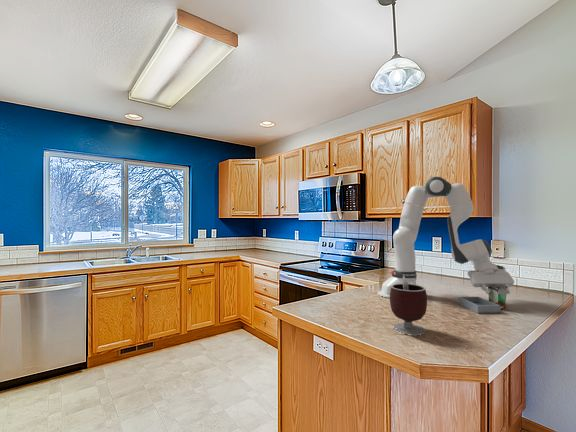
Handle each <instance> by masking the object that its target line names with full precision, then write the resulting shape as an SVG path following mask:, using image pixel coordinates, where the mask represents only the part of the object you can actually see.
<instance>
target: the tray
mask: <svg viewBox="0 0 576 432" xmlns="http://www.w3.org/2000/svg"><path fill="white" fill-rule="evenodd" d="M457 304H458V305H461V306H462V307H464V308H466V309H468V310H470V311H472V312H475V313H476V314H501V310H500V305H498V304H495V303H493V302H490V301H489V299H488V300H487V299H485V298H482V297H481V296H457Z"/></svg>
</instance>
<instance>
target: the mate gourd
mask: <svg viewBox="0 0 576 432" xmlns="http://www.w3.org/2000/svg"><path fill="white" fill-rule="evenodd" d="M427 295H428V294H427V291H426V287H425V286H423V285H418V284H416V285H413V284H408V282H407V280H406V278H405V277H404V276H403V284H394V285H392V286H391V290H390V298H389V305H390V309H391V312H392V313H393V315H394V316H395V317H396V318H398V319H400V320H402V321H404V322H401V323H399V322H398V323H395V324H393V325H392V326H394V328H393V329H394V330H395V328H397V329H396V331H398V332H401V333H404V334H411V335H420V334H423V335H425V334H426V329H425V328H424V327H422V326H421V325H417V324H415V323H414V324H413V322H416V321H419V320H421V319H423V317H424V316H425V315H426V314H427V307H428V297H427ZM393 329H392V330H393ZM424 333H425V334H424ZM420 336H421V335H420Z"/></svg>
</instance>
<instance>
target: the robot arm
mask: <svg viewBox="0 0 576 432" xmlns="http://www.w3.org/2000/svg"><path fill="white" fill-rule="evenodd" d="M440 197H443V198H444V199H445V200H446V202H447V204H448V206H449V212H450V213H449V216H447V219H446V220H447V221H446V223H447V230H448V236H449V242H450V247H451V249H450V251H451V253H450V254H451V258H452V259H453V261H454V262H456V263H458V264H461V265H462V264H463V265H464V264H465V263H466V264H467V263H469V262H470V263H471V264H472V265H473V269H474V270H471V269H470V270H469V271H467V275H468V277H469V280H470V283H471V286H472V287H474V288H480V289H481V290H483V291H484V292H485V294H486V295H489V294H490V293H491V291H490V289H488V287H490V286H491V285H497V286H503V287H506V288H507V290H508V293H507V294H506V295H510V293H511V291H510V289H509V288H510V287H512V286H513V285H514V283H515V281H514V278H513V276H511V274H510V273H509V272H508V271H506V267H505V266H503V265H500V264H495V263H493V262H492V261H491V260H490V257H491V255H492V253H493V249H492V247H491V246H490V244H489V242H488V241H487V240H485V239H483V238H482V239H481V238H480V239H475V240H471V241H468V242H465V243H460V239H459V233H458V228H459V226H460V225H462V223H463V222H465V221H466V220H468V219H469V218H470V217H471V216H472V215H473V213H474V211H475V208H474V207H475V206H474V202H473V201H472V198H471V195H470V194H469V192H468V190H467V188H466V186H464V184H462V183H458V182H457V183H456V182H455V183H452V184H451V183H450V182H449V181H447V180H446V179H445V178H443V177H441V176H432V177H431V178H429V179H428V180H427V181H426V183H424V185H413V186H411V187H410V188H409V190H408V192H407V195H406V197H405V200H404V203H403V206H402V210H401V214H400V220H399V224H398V225H399V226H398V228H397V229H396V230H395V231H394V233H393V235H392V242H393V249H394V263H395V264H394V270H392V269H390V270H389V274H390V275H391V276H390V277H389V278H388V279H386V280H385V281H383V282H382V285H381V290H380V289H379V290H378V291H377V294H378V295H379V296H380V297H382V296H383V298H385V297H386V299H390V290H391V286H392V285H394V284H403V276H404V277H405V278H406V280H407V282H408V284H413V285H417V279H418V278H417V270H416V252H415V242H416V240H417V238H418V233H419V229H420V226H421V220H422V217H423V213H424V210H425V206H426V203H427V201H428V199H429V198H440Z"/></svg>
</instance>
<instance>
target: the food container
mask: <svg viewBox="0 0 576 432" xmlns="http://www.w3.org/2000/svg"><path fill="white" fill-rule="evenodd" d="M487 289H490V291H491V293H490V294H488V301H490V302H493V303H495V304H498V305H500V311H505V309H506V307H507V306H506V304H507V295H508V294H507V293H508V290H507V288H506V287H503V286H497V285H491V286H490V287H487Z"/></svg>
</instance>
